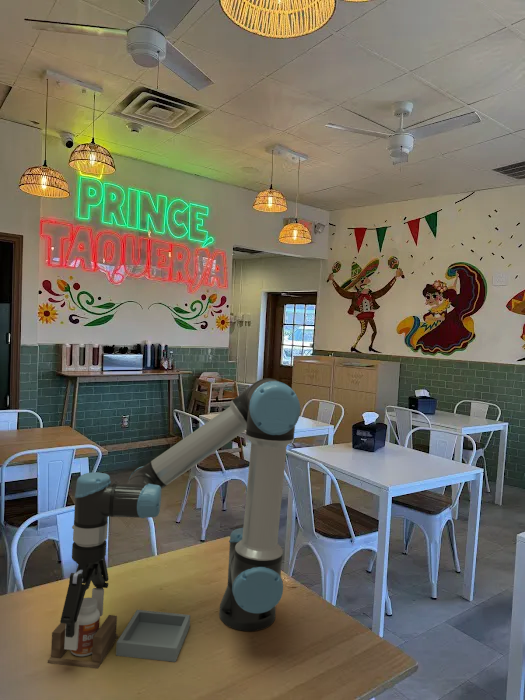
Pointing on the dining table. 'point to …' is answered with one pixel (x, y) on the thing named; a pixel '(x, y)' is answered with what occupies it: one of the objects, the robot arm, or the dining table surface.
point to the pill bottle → (87, 627)
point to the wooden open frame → (100, 644)
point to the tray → (154, 635)
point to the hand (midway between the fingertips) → (84, 631)
